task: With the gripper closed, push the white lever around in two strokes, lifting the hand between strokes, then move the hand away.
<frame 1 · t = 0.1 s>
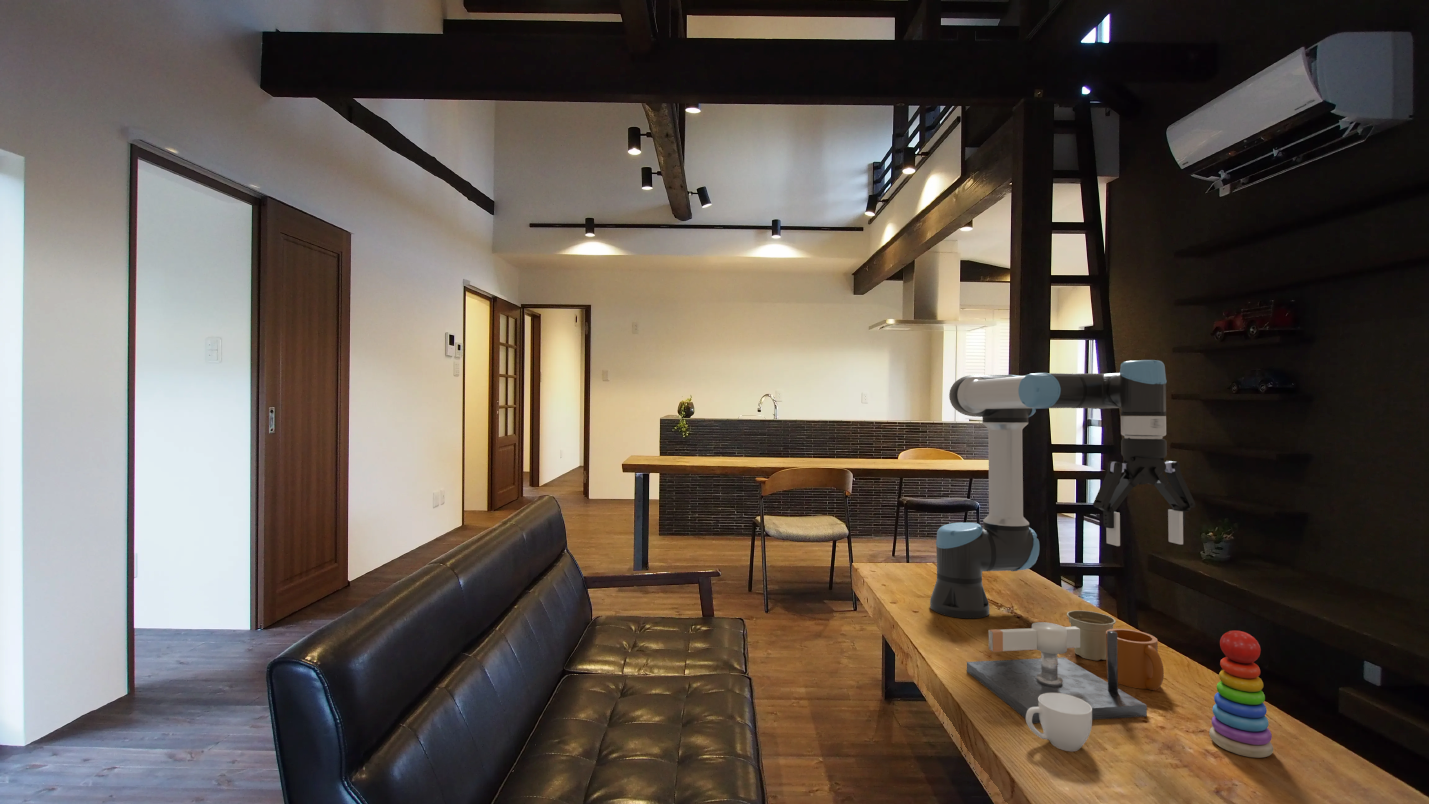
hand: (1144, 544, 125), 28 cm above the table, fingers open, 13 cm apart
mug: (1136, 684, 126), on the table
cup: (1057, 745, 102), on the table
flower pot: (1091, 656, 140), on the table
stacking toy: (1240, 747, 102), on the table
base plate: (1049, 692, 121), on the table
white lever: (1034, 638, 121), point 11 cm above the table, hinge at 0.0°
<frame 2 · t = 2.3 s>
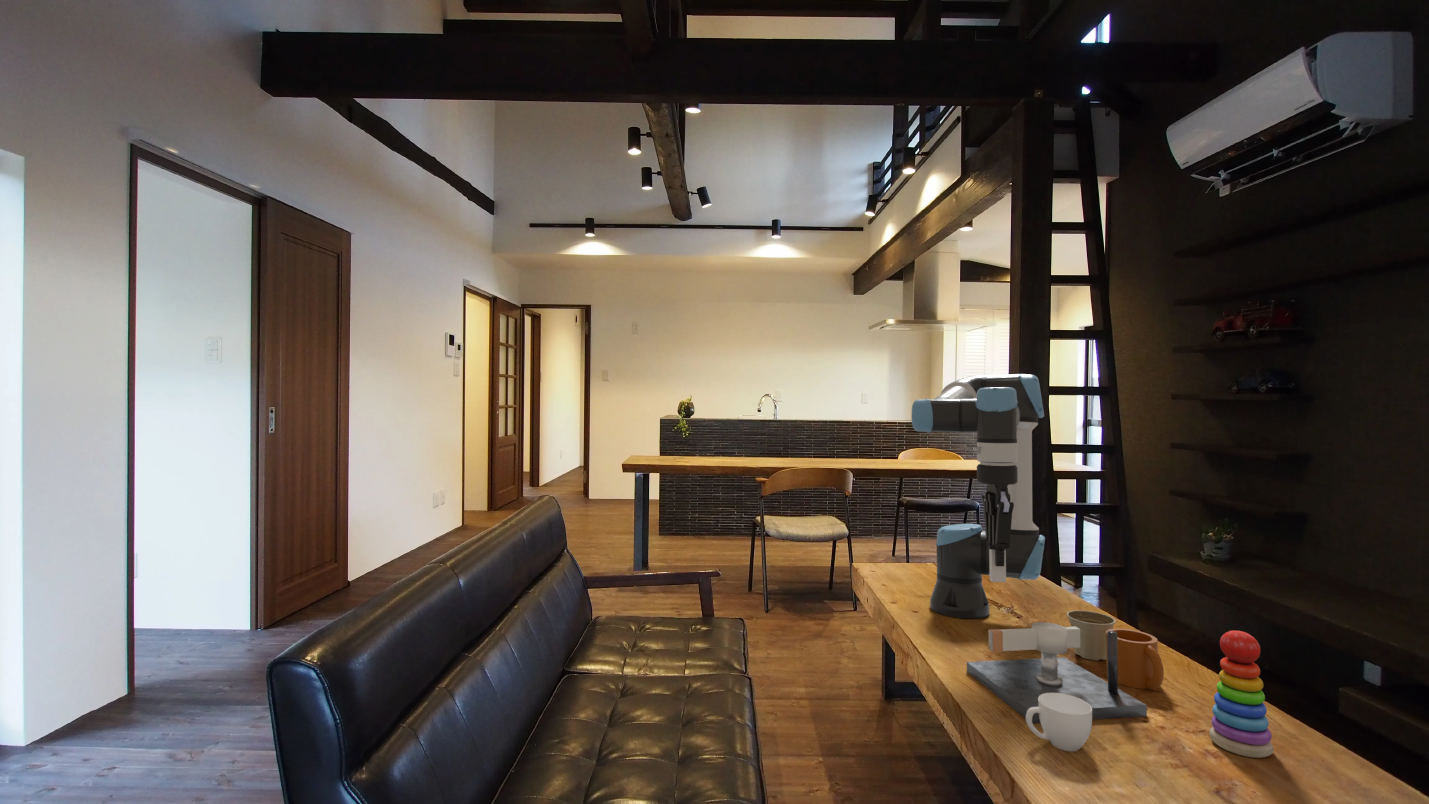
hand: (997, 580, 126), 20 cm above the table, fingers closed
nothing on the table moved.
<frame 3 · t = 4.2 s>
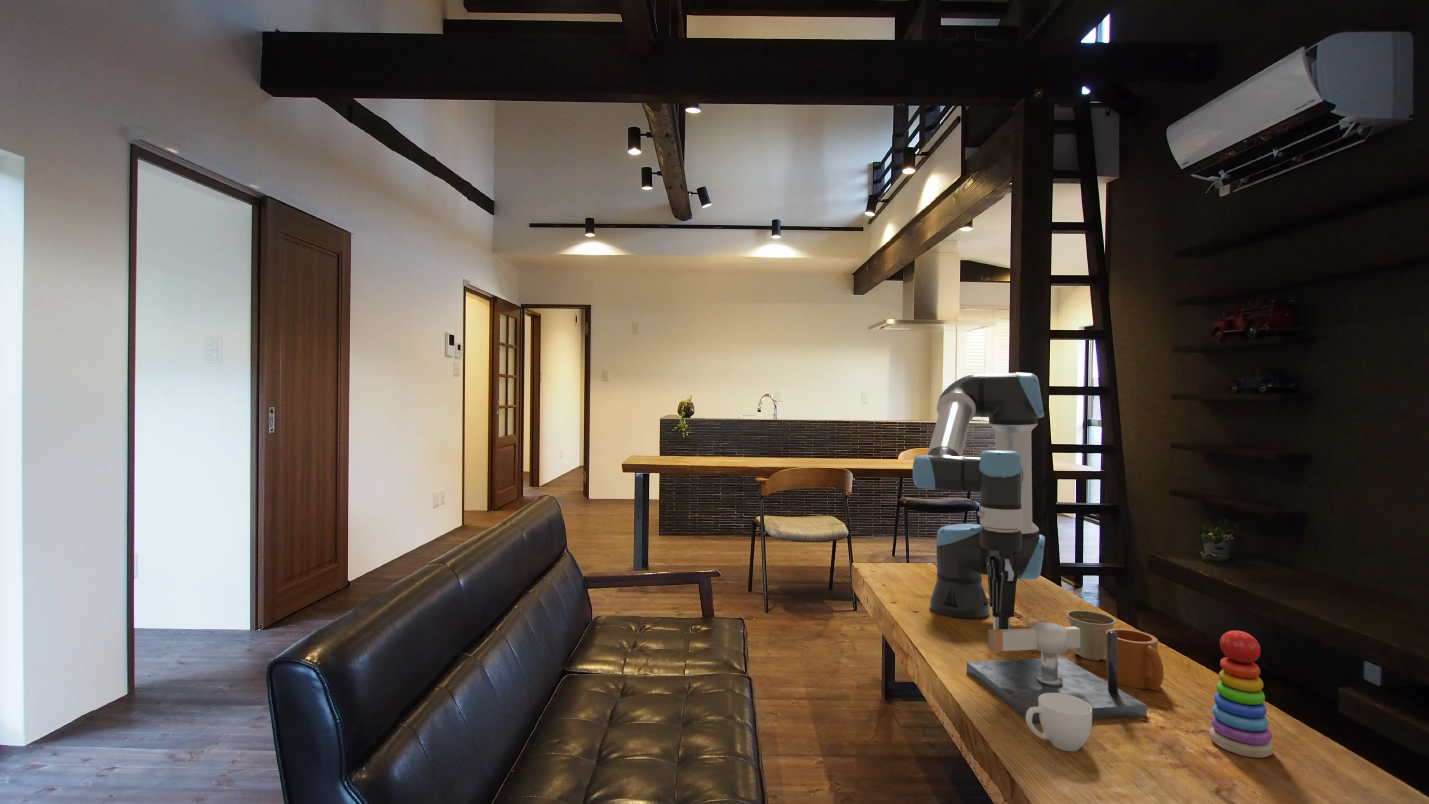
hand: (1001, 648, 124), 8 cm above the table, fingers closed
white lever: (1034, 638, 121), point 11 cm above the table, hinge at 0.1°, touching gripper
everything else where it was.
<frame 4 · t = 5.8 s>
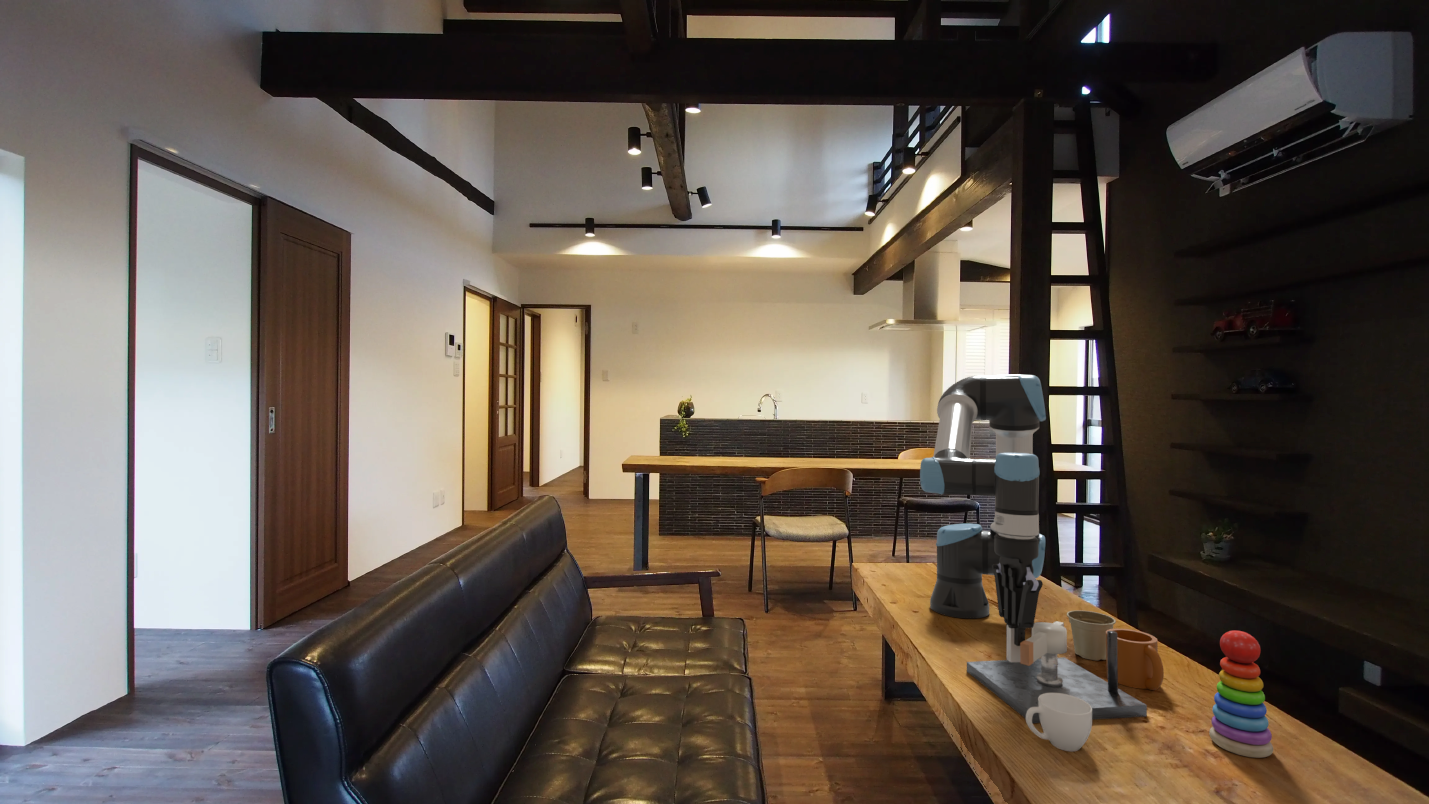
hand: (1015, 660, 118), 8 cm above the table, fingers closed
white lever: (1043, 641, 120), point 11 cm above the table, hinge at 36.5°, touching gripper
everything else where it was.
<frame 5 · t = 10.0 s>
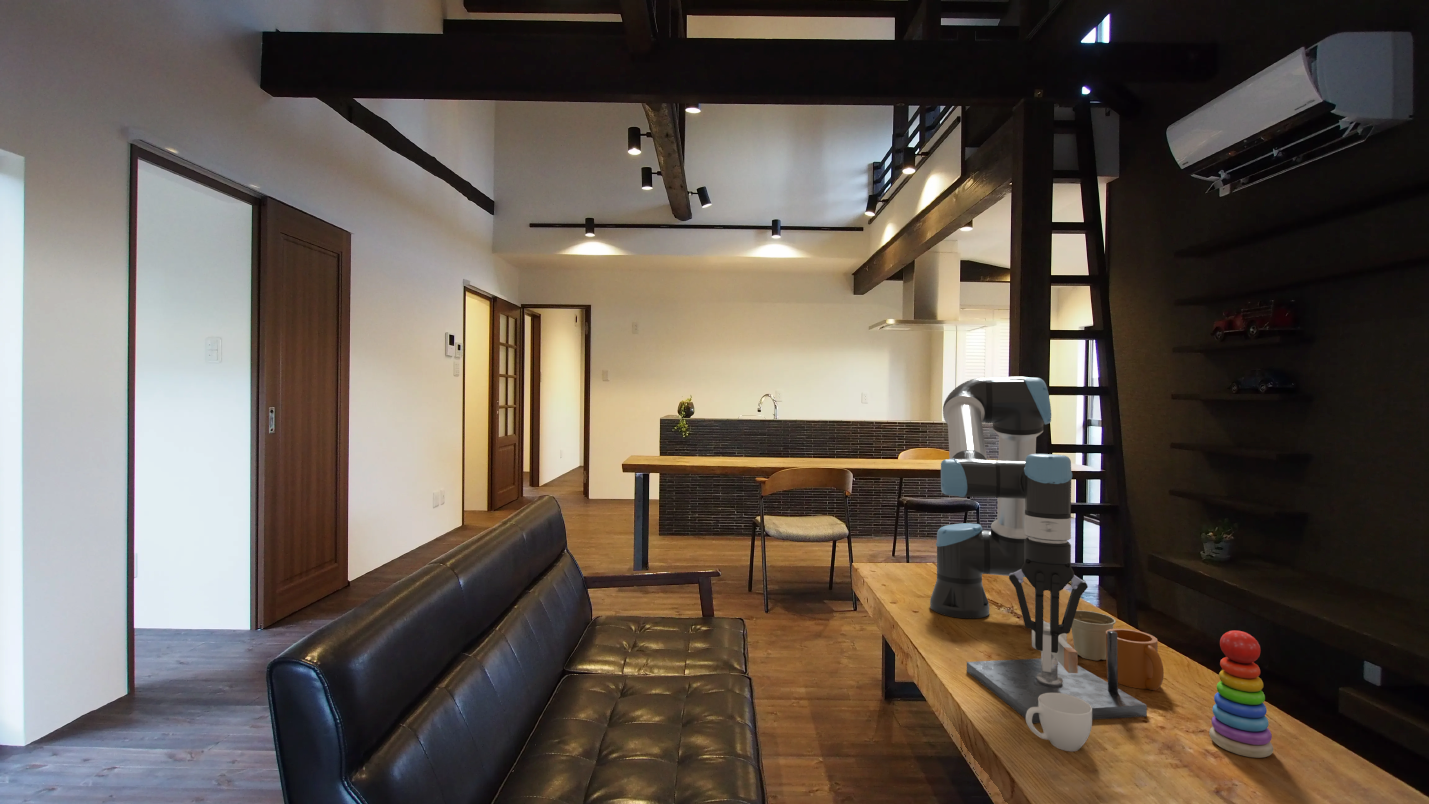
hand: (1046, 668, 114), 8 cm above the table, fingers closed
white lever: (1054, 643, 119), point 11 cm above the table, hinge at 73.3°, touching gripper
everything else where it was.
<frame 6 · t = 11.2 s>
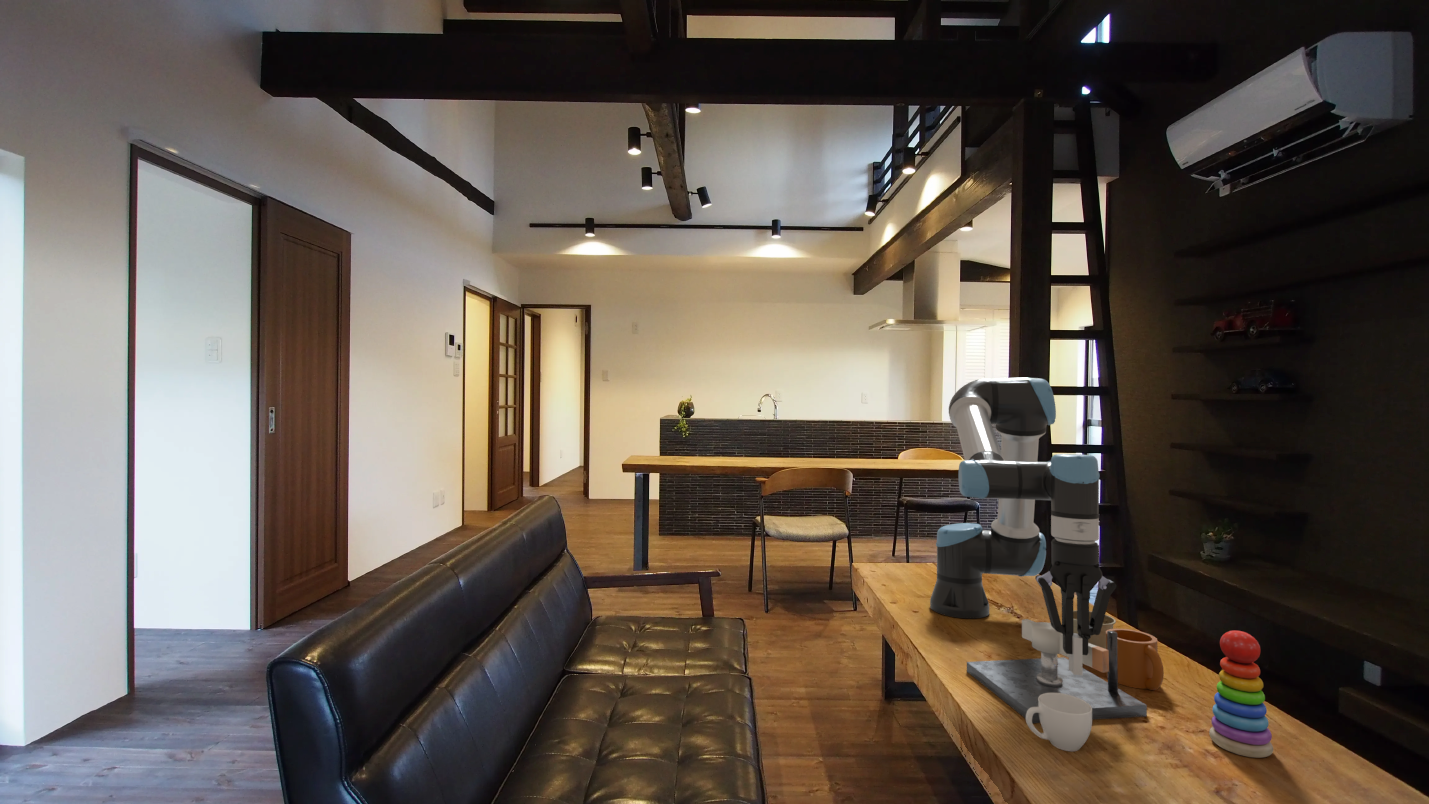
hand: (1075, 671, 113), 8 cm above the table, fingers closed
white lever: (1062, 642, 119), point 11 cm above the table, hinge at 102.4°, touching gripper
everything else where it was.
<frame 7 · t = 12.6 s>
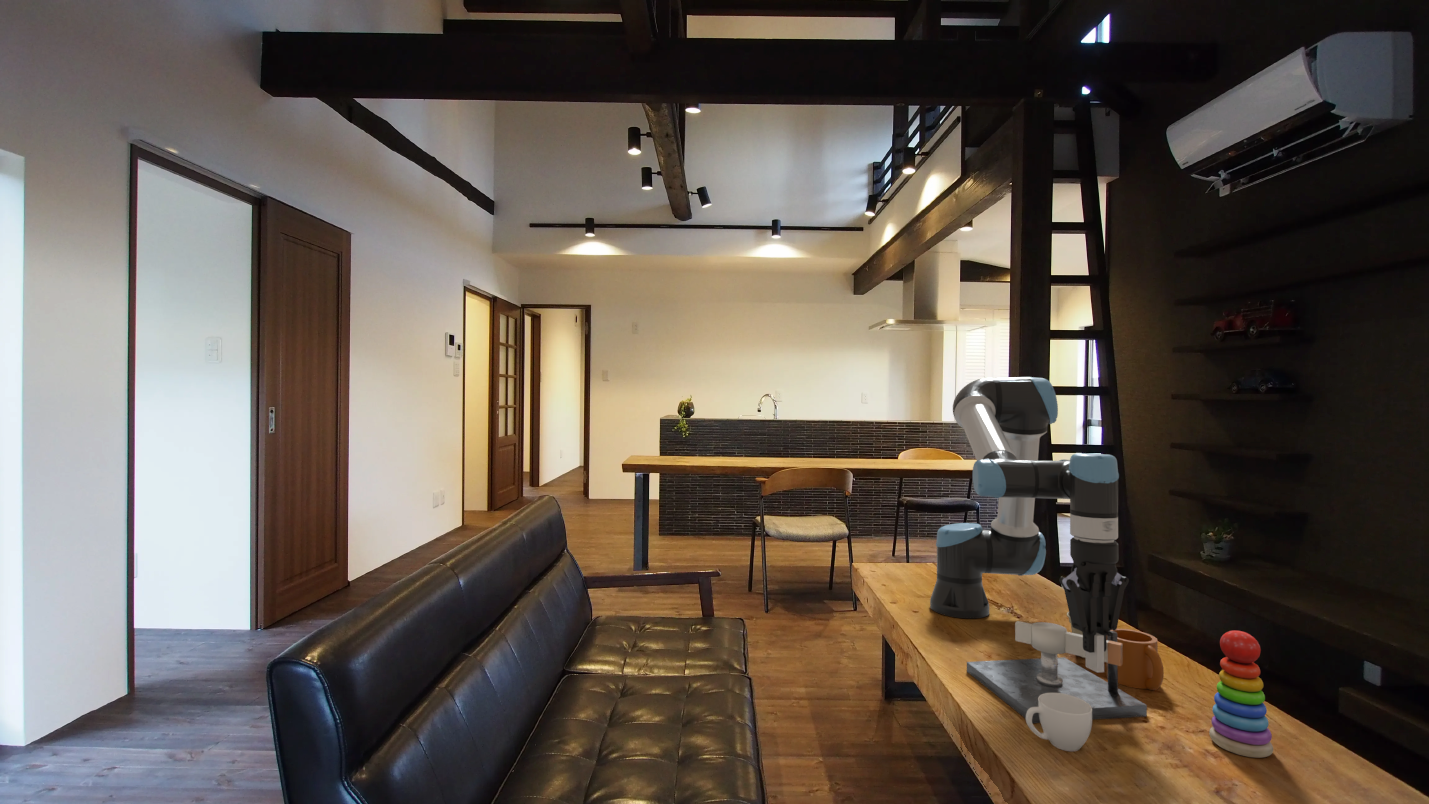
hand: (1094, 669, 114), 8 cm above the table, fingers closed
white lever: (1066, 641, 120), point 10 cm above the table, hinge at 129.9°, touching gripper
everything else where it was.
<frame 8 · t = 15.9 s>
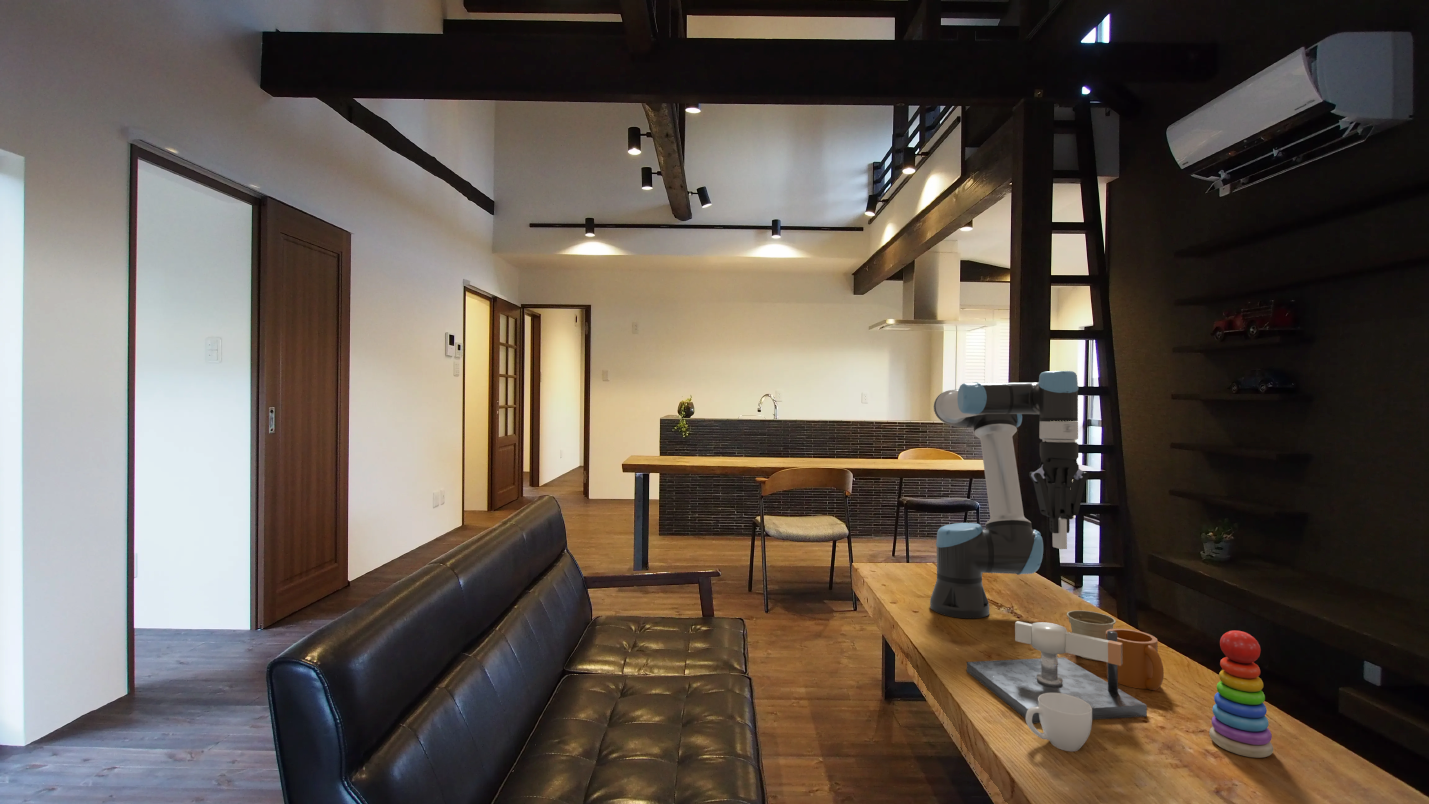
hand: (1059, 547, 138), 24 cm above the table, fingers closed
white lever: (1066, 641, 120), point 11 cm above the table, hinge at 130.7°
everything else where it was.
at the end: white lever at +131° (first picture: +0°); the gripper is holding nothing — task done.
